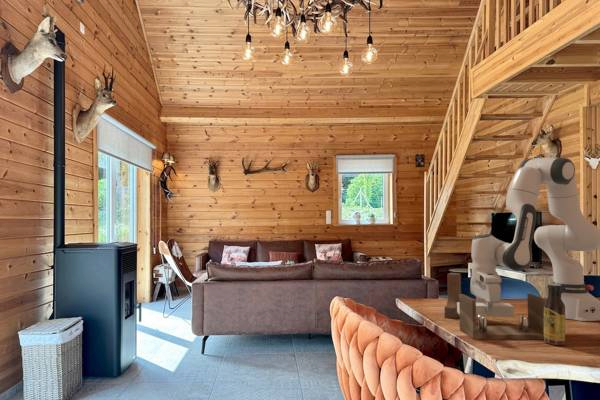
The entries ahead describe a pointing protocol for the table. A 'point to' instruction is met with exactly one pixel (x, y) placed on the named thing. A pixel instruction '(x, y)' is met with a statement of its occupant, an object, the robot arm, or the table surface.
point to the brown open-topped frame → (529, 331)
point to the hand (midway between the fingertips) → (484, 309)
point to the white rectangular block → (493, 310)
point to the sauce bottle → (554, 316)
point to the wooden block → (453, 295)
